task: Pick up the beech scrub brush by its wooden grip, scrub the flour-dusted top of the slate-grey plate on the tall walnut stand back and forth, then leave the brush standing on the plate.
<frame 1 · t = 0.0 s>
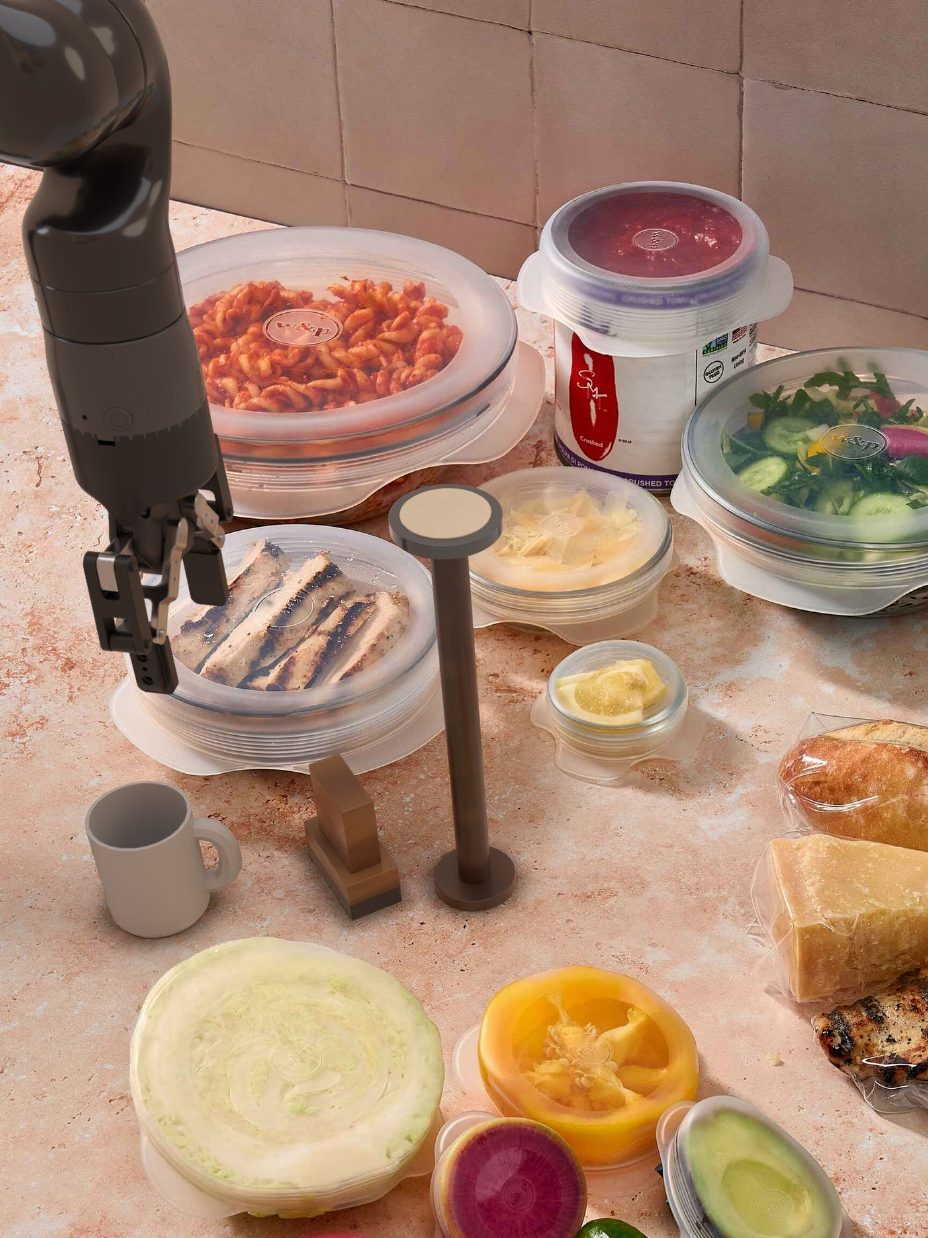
hand: (186, 644, 97), 29 cm above the table, tool pointing down, fingers open, 8 cm apart
stand: (475, 882, 124), on the table
brush: (354, 877, 124), on the table
plate: (446, 527, 103), resting on stand
cup: (181, 905, 122), on the table
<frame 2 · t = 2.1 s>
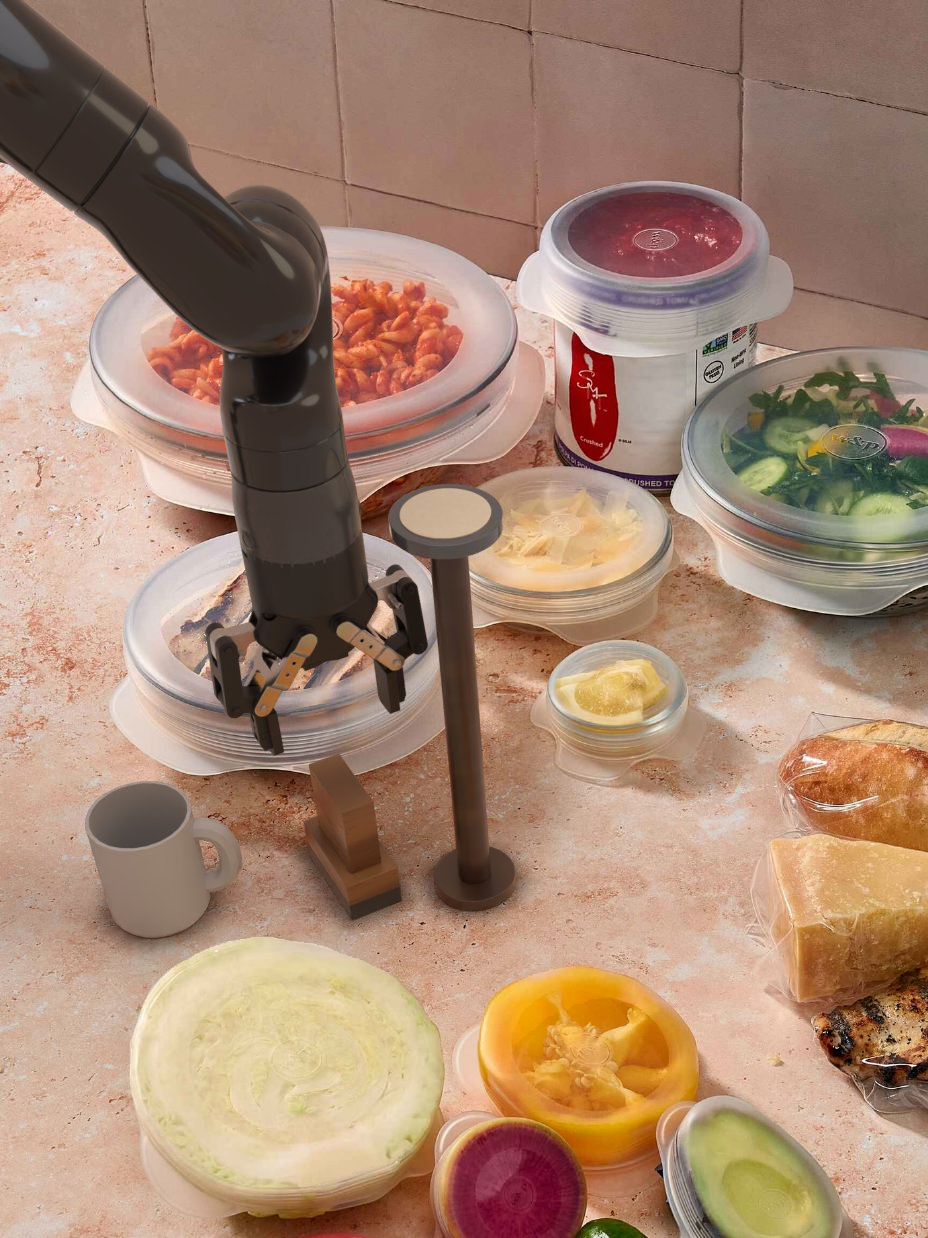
hand: (332, 726, 114), 15 cm above the table, tool pointing down, fingers open, 8 cm apart
nothing on the table moved.
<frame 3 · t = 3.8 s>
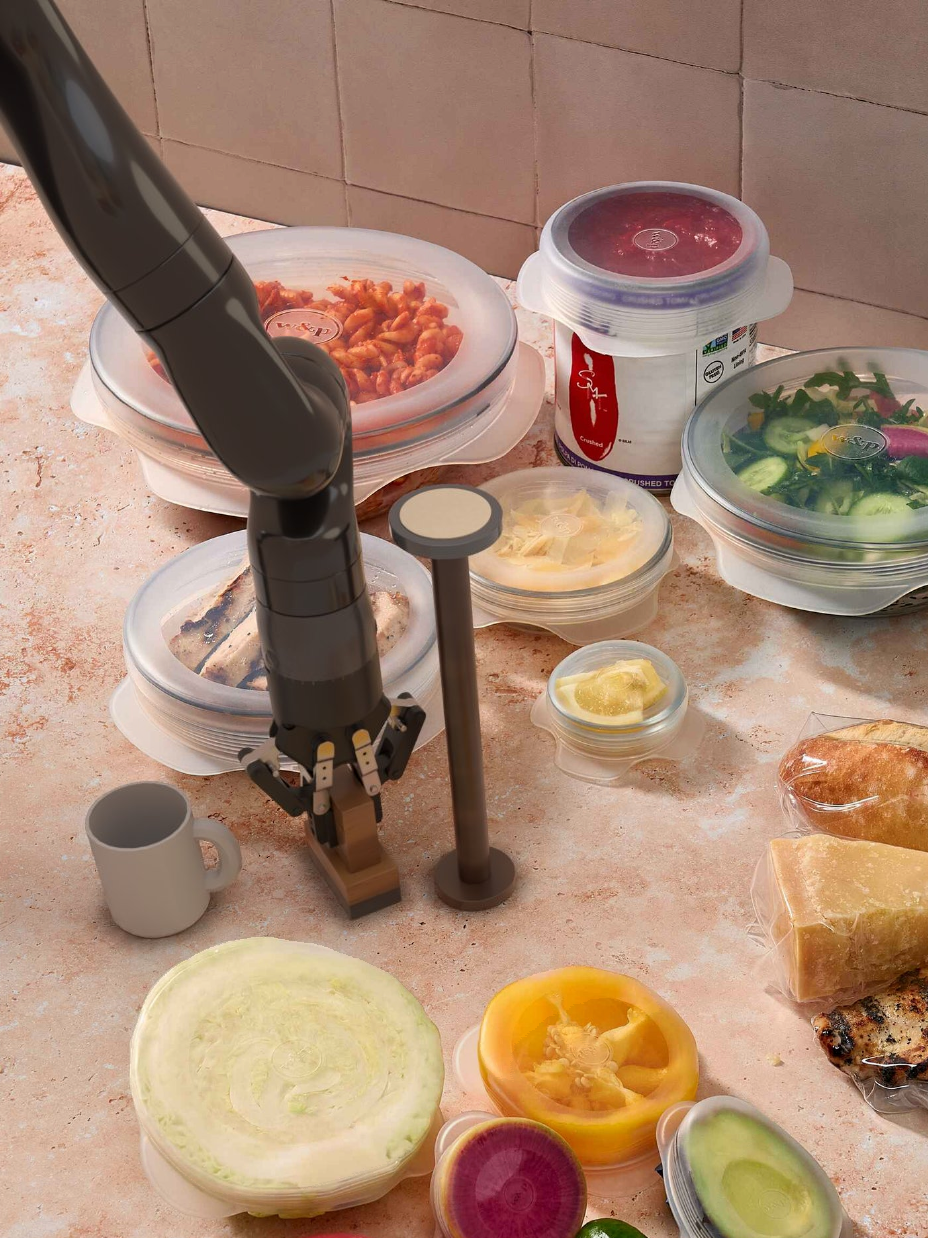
hand: (347, 832, 121), 5 cm above the table, tool pointing down, fingers closed on brush, 2 cm apart
brush: (354, 877, 124), on the table, touching gripper
everything else where it was.
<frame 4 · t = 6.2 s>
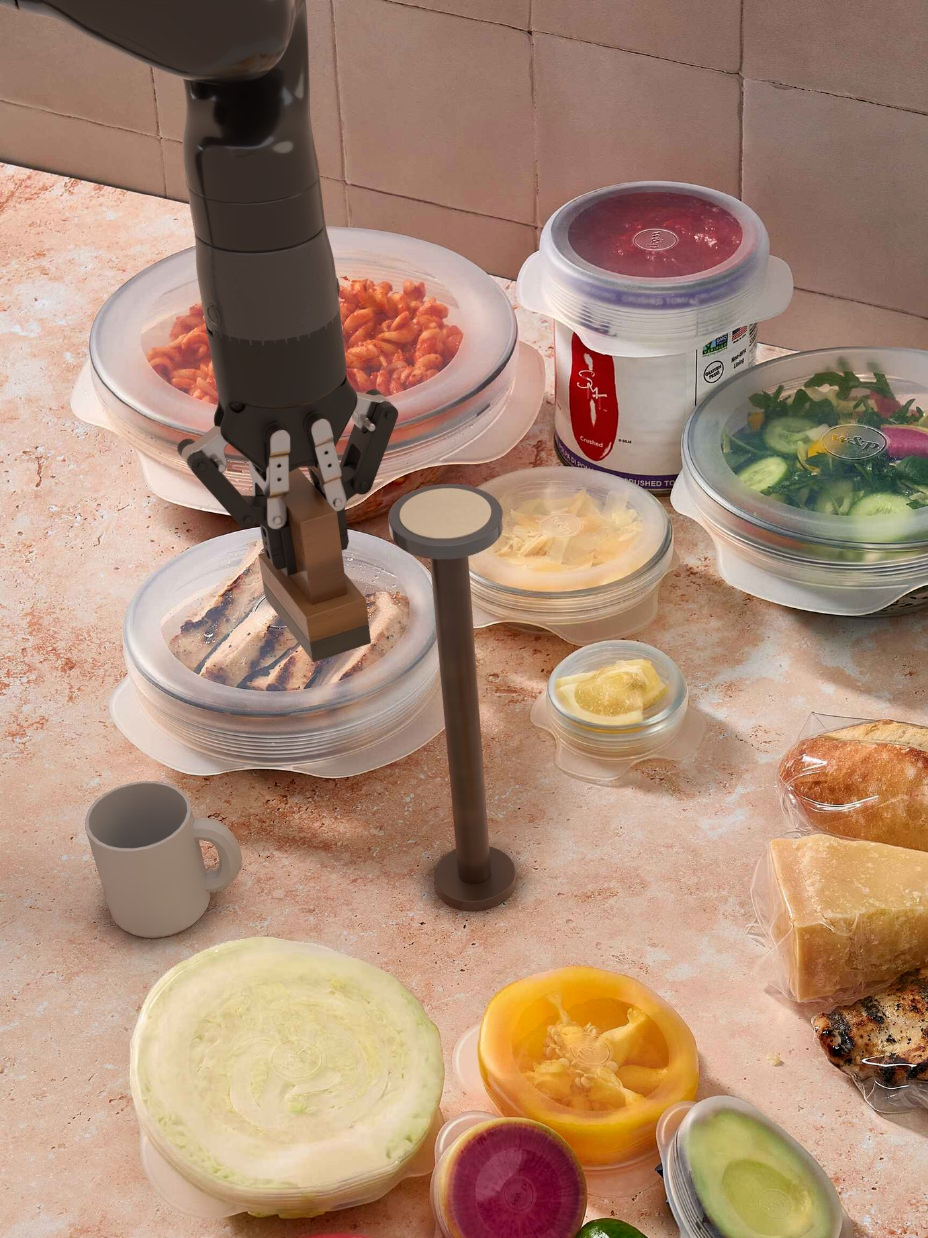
hand: (308, 561, 105), 28 cm above the table, tool pointing down, fingers closed on brush, 2 cm apart
brush: (317, 620, 108), point 24 cm above the table, touching gripper
everything else where it was.
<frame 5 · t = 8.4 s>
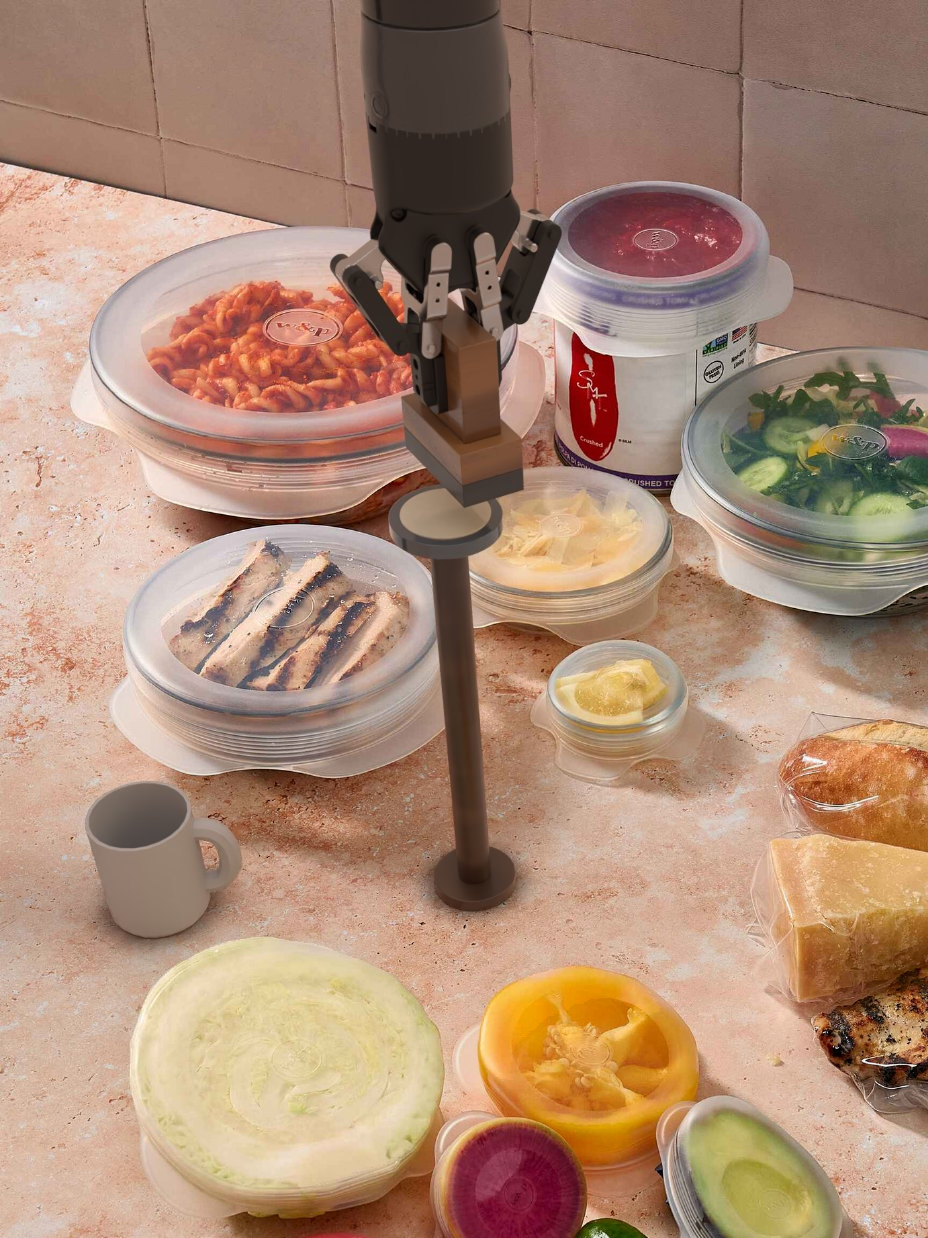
hand: (458, 400, 98), 39 cm above the table, tool pointing down, fingers closed on brush, 2 cm apart
brush: (463, 468, 101), point 35 cm above the table, touching gripper
everything else where it was.
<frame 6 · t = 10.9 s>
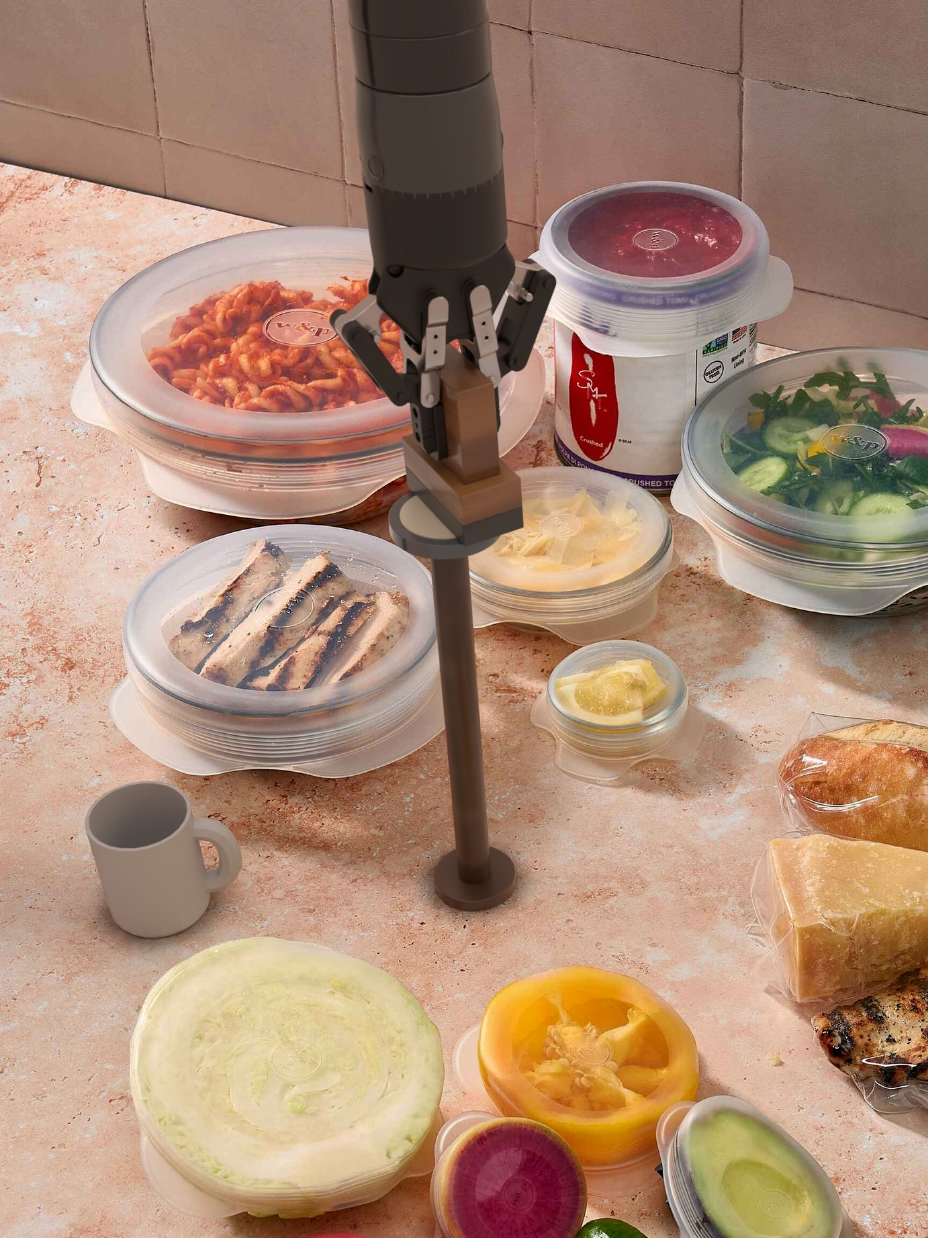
hand: (458, 445, 100), 36 cm above the table, tool pointing down, fingers closed on brush, 2 cm apart
brush: (464, 506, 103), point 32 cm above the table, touching gripper
everything else where it was.
when the fingers open (36 cm above the table, at t = 12.9 s): brush stays where it is, resting on plate.
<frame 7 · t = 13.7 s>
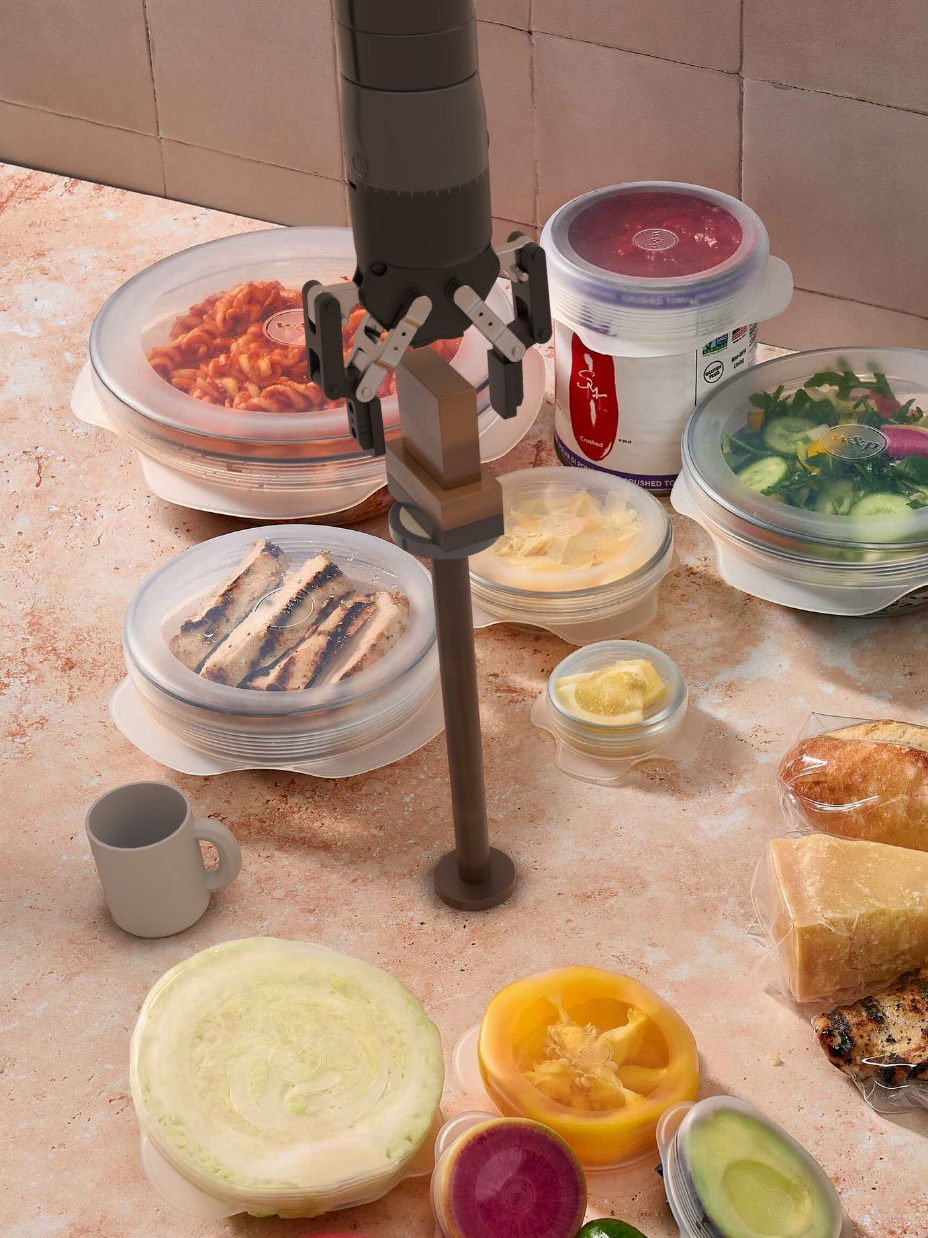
hand: (439, 431, 98), 38 cm above the table, tool pointing down, fingers open, 8 cm apart
brush: (445, 512, 102), point 32 cm above the table, touching plate
everything else where it was.
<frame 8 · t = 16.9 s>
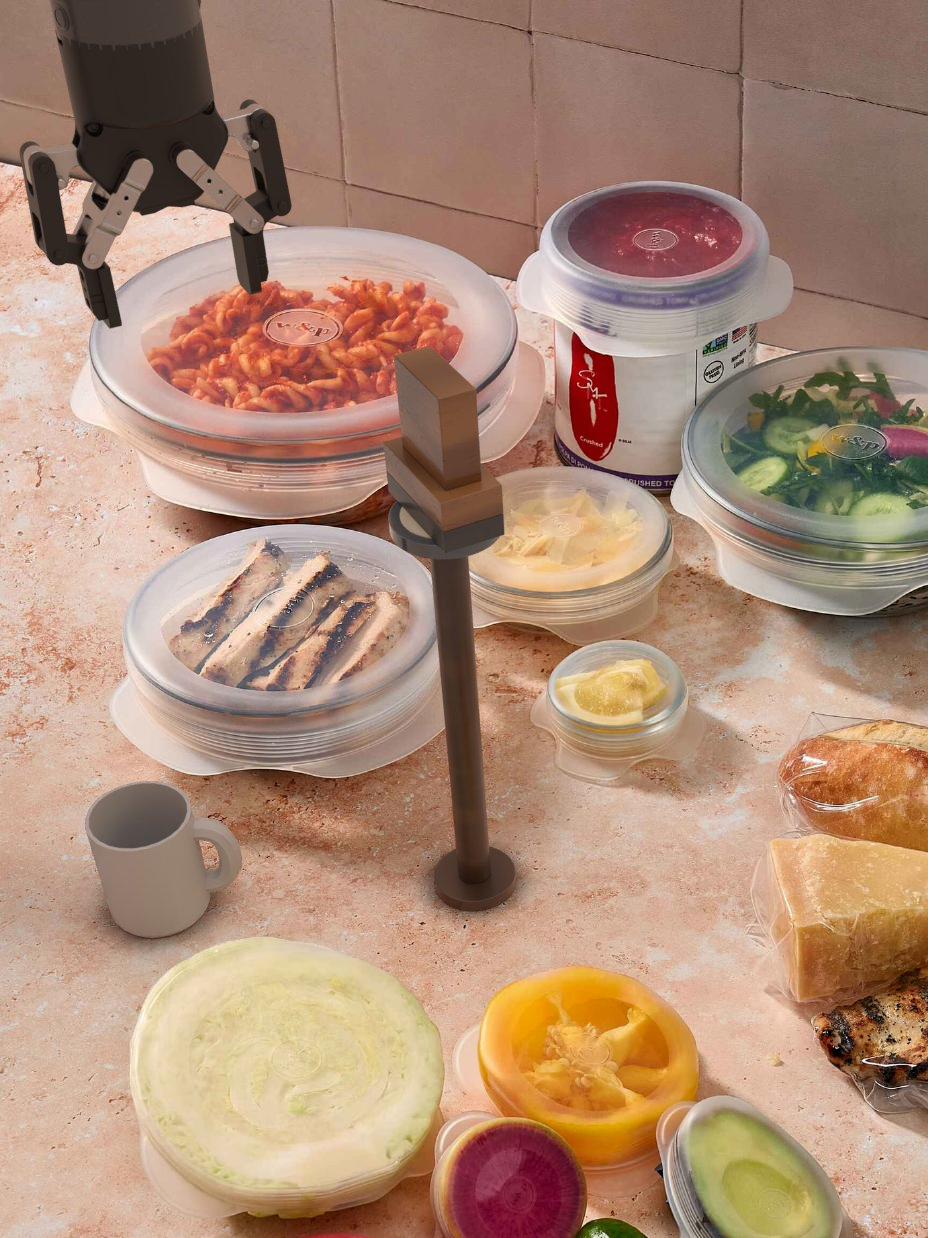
hand: (181, 305, 98), 43 cm above the table, tool pointing down, fingers open, 8 cm apart
nothing on the table moved.
at the end: brush 0.0 cm off-centre on the plate, point 1.1 cm above the plate's base; brush tilted 0°; the gripper is holding nothing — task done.
